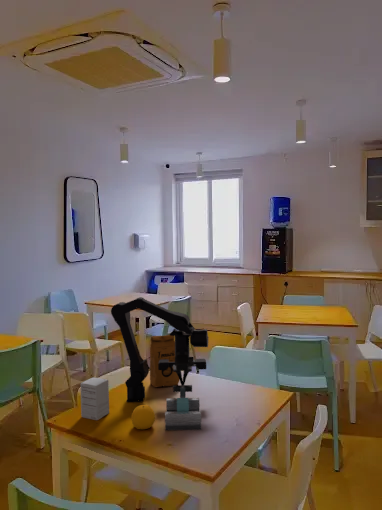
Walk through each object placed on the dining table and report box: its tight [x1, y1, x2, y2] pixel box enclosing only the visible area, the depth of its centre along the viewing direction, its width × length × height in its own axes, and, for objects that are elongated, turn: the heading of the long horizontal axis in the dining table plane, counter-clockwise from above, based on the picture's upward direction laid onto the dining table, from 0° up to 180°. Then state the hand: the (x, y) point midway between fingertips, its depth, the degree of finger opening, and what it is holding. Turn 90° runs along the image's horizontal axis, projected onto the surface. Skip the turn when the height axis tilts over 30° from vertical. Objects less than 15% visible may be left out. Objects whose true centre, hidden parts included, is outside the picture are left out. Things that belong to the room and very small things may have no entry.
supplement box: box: [80, 377, 110, 421], centre depth 156 cm, size 7×7×13 cm
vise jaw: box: [166, 384, 200, 411], centre depth 159 cm, size 12×6×7 cm, turn 91°
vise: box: [164, 408, 202, 431], centre depth 152 cm, size 12×18×5 cm, turn 1°
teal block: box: [176, 397, 189, 412], centre depth 149 cm, size 5×4×6 cm
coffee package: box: [149, 334, 180, 388], centre depth 188 cm, size 10×12×22 cm
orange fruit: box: [130, 404, 156, 430], centre depth 145 cm, size 8×8×8 cm
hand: (182, 385), depth 169 cm, fingers closed
